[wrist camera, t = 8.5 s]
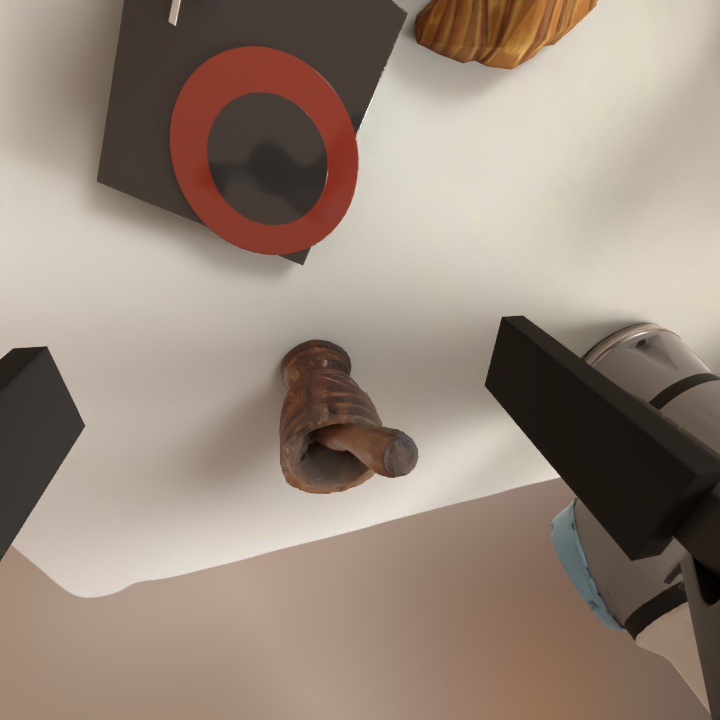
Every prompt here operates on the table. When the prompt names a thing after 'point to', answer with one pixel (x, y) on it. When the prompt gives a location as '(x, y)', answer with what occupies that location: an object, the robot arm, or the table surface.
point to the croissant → (496, 28)
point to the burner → (264, 150)
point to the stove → (210, 37)
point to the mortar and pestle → (334, 425)
